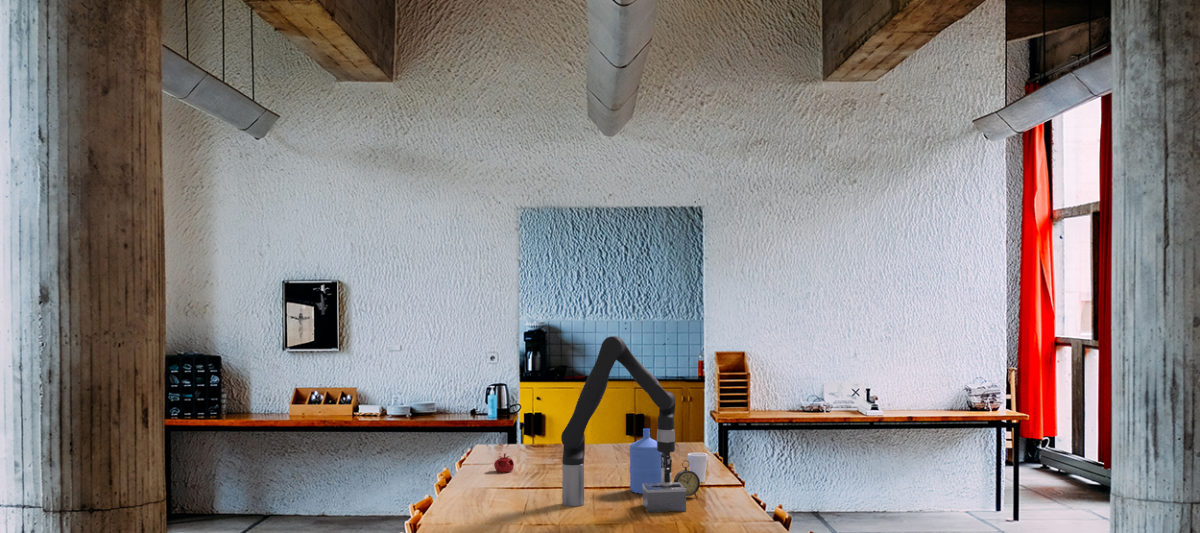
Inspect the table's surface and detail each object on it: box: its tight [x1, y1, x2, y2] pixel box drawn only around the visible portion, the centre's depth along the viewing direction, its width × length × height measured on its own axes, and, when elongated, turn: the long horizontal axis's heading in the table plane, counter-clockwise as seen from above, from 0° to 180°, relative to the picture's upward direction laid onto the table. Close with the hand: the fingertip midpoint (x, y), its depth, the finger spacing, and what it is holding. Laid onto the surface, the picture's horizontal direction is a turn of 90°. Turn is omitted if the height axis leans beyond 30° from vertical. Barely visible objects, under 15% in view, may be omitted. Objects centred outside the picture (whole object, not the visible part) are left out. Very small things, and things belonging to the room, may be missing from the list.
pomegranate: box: [493, 452, 515, 473], centre depth 460 cm, size 10×10×9 cm
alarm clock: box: [673, 459, 701, 498], centre depth 396 cm, size 11×5×16 cm, turn 105°
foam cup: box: [687, 452, 709, 483], centre depth 430 cm, size 10×9×13 cm
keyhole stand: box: [642, 481, 687, 513], centre depth 377 cm, size 16×14×9 cm
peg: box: [660, 468, 673, 488], centre depth 378 cm, size 5×5×10 cm
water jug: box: [629, 428, 662, 495], centre depth 411 cm, size 16×16×28 cm
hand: (666, 481), depth 378 cm, fingers closed on peg, 4 cm apart
